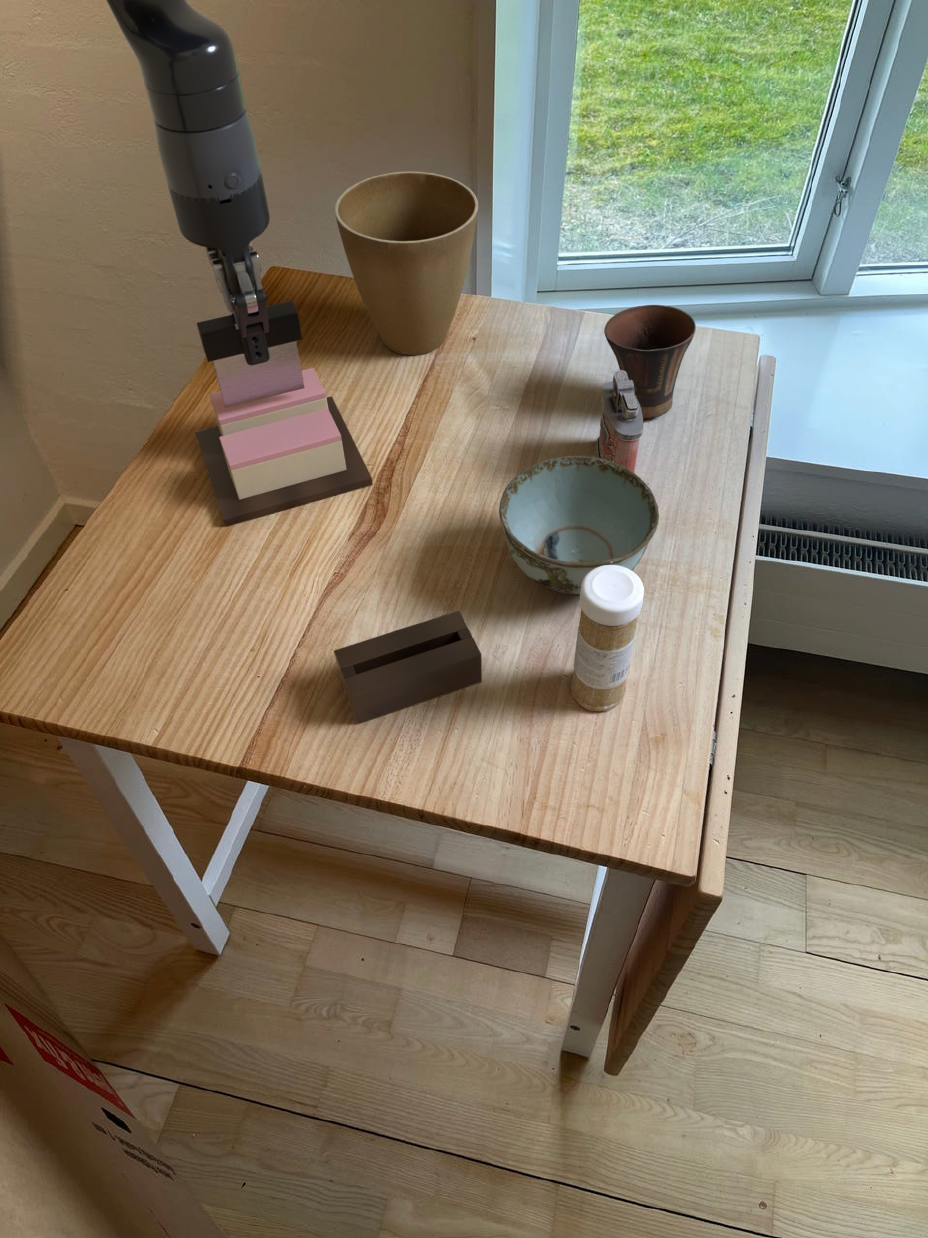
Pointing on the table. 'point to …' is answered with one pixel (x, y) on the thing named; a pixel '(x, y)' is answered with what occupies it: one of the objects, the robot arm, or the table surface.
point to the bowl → (576, 519)
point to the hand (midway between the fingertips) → (254, 353)
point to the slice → (270, 406)
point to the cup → (651, 351)
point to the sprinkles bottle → (605, 636)
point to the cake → (283, 453)
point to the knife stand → (408, 666)
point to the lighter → (620, 422)
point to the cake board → (285, 496)
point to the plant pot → (409, 253)
